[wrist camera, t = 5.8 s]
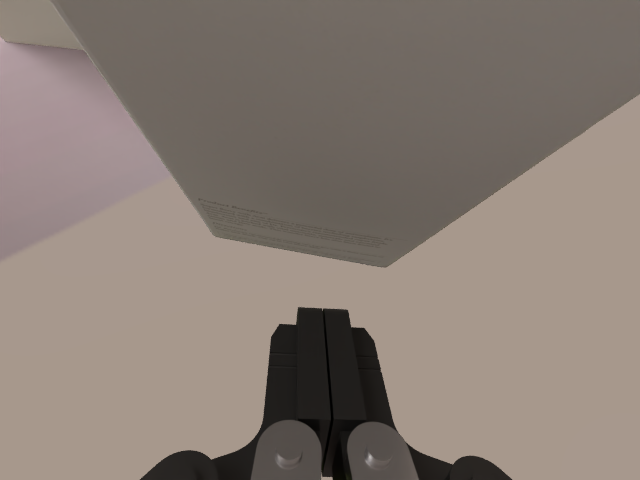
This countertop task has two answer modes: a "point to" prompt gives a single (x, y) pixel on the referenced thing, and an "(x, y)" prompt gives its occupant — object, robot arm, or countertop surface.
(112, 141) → the countertop surface
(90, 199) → the countertop surface
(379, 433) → the robot arm
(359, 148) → the supplement box
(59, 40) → the stoneware open box
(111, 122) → the countertop surface
